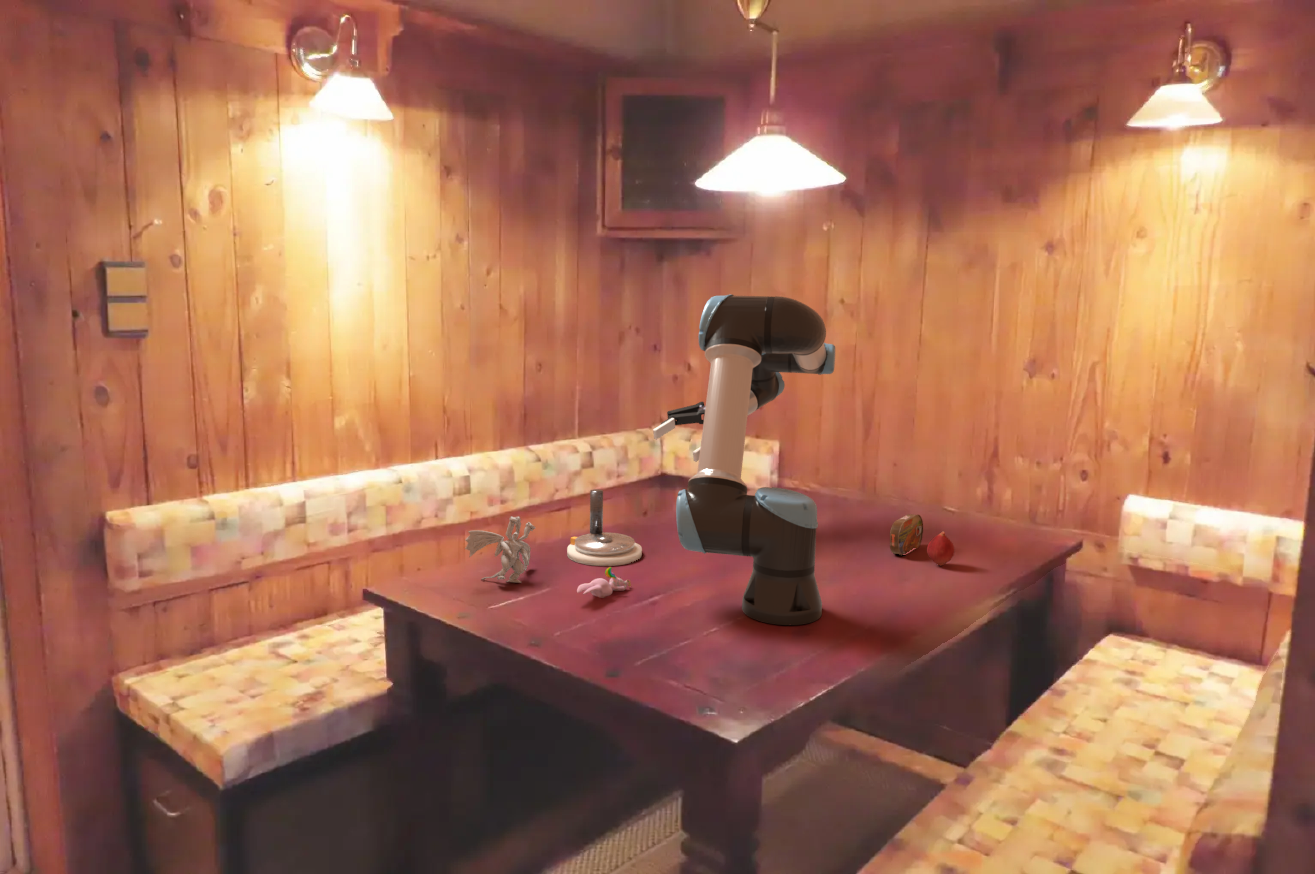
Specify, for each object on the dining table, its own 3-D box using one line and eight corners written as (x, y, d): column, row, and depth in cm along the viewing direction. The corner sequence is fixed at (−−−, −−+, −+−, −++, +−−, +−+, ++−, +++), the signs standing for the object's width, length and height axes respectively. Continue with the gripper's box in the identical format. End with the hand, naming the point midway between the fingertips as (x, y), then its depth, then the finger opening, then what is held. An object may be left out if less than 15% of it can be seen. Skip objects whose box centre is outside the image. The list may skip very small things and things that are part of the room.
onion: (923, 567, 205) (926, 532, 203) (928, 560, 210) (931, 526, 208) (950, 571, 202) (953, 536, 201) (955, 564, 207) (957, 530, 206)
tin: (898, 559, 210) (901, 524, 209) (885, 557, 212) (888, 521, 210) (923, 545, 222) (925, 512, 220) (910, 543, 224) (913, 509, 222)
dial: (643, 552, 205) (644, 501, 203) (585, 558, 200) (586, 505, 198) (621, 535, 218) (621, 487, 216) (566, 540, 213) (566, 491, 211)
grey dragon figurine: (453, 574, 185) (463, 507, 189) (519, 589, 198) (527, 526, 202) (484, 573, 178) (494, 504, 182) (550, 588, 191) (558, 523, 195)
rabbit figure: (611, 590, 189) (566, 598, 177) (615, 561, 189) (570, 568, 177) (636, 596, 186) (592, 605, 173) (639, 567, 186) (595, 574, 173)
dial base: (620, 570, 198) (620, 557, 197) (553, 558, 205) (553, 546, 204) (654, 550, 213) (654, 537, 212) (590, 540, 220) (590, 528, 219)
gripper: (773, 437, 222) (712, 479, 211) (700, 401, 238) (640, 438, 227) (772, 412, 218) (711, 453, 207) (698, 376, 233) (637, 413, 223)
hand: (673, 445), depth 217 cm, fingers open, 13 cm apart
